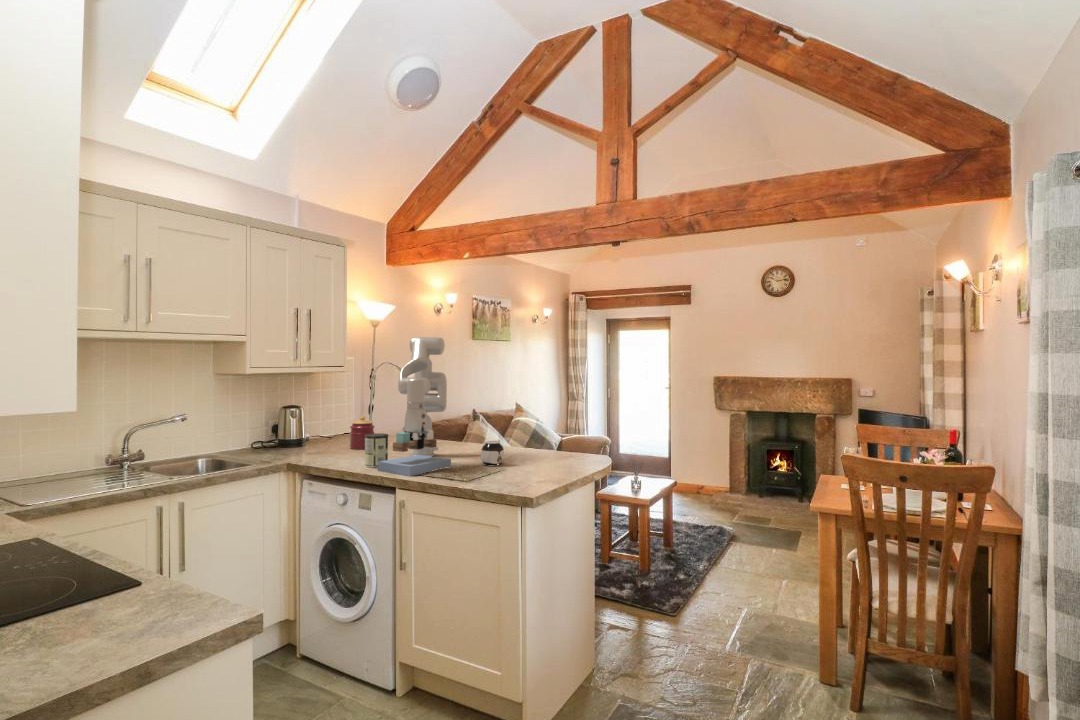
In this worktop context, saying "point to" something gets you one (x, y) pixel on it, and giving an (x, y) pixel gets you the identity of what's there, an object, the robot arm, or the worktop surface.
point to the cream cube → (429, 435)
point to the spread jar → (492, 452)
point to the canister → (360, 432)
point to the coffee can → (375, 449)
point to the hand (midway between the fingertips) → (415, 447)
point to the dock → (413, 465)
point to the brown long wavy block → (413, 445)
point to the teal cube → (402, 437)
